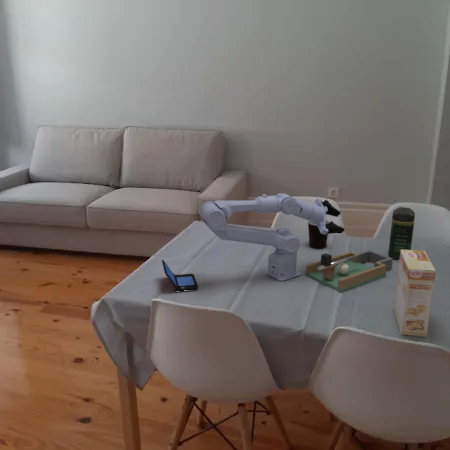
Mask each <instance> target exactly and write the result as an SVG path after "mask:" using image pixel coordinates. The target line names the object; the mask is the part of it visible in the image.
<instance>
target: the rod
mask: <svg viewBox="0 0 450 450" xmlns="http://www.w3.org/2000/svg"><path fill="white" fill-rule="evenodd" d="M357 254H358V253H357ZM332 257H333V256H332V255H331V254H329V253H327V252H326V253H323V254H321V255H320V261H321V265H322V266H319V267H317V270H318V271H319V270H322V269H323V277H324V278H326V279H328V280H331V279H334V270H335V265H338V264H341V263H344V262H347V261H350V260H353V259H357V258H360V257H361V254H358V255H354V256H351V257H348V258H345V259H342V260H338V261H335V262H332V263H331V260H332Z"/></svg>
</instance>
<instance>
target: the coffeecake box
mask: <svg viewBox="0 0 450 450" xmlns="http://www.w3.org/2000/svg"><path fill="white" fill-rule="evenodd" d="M436 273H437V271H436V268H435V267H434V265H433V263H432V261H431V259H430V257H429V256H428V254H427V252H426V251H425V250H417V249H416V250H415V249H411V250H402V249H401V251H400V260H398V270H397V281H396V288H395V294H394V295H395V296H394V297H395V298H394V304H393V313H394V316H395V318H396V322H397V325H398V326H397V327H398V328H399V333H400V335H403V336H404V335H405V336H413V337H423V338H424V337H428V328H429V321H430V314H431V308H432V307H431V306H432V299H433V291H434V285H435V280H436Z"/></svg>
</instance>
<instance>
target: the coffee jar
mask: <svg viewBox="0 0 450 450" xmlns="http://www.w3.org/2000/svg"><path fill="white" fill-rule="evenodd" d="M415 215H416V213H415V211H414V210H413V209H411V208H410V207H403V206H402V207H401V206H400V207H397V208H395V209H393V212H392V217H391V225H390V226H391V227H390V235H389V245H388V252H387V254H388V255H387V256H388V257H390V258H393V260H396V261H399V260H400V251H401V249H402V250H412V242H413V238H414V237H413V236H414V235H413V234H414V229H415V228H414V227H415V217H416V216H415Z"/></svg>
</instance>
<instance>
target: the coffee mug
mask: <svg viewBox="0 0 450 450" xmlns="http://www.w3.org/2000/svg"><path fill="white" fill-rule="evenodd" d="M330 222H331V221H329V220H327V219H326V224H327V223H328V224H329V223H330ZM307 227H308V239H309V240H308V241H309V242H308V243H309V247H310V248H311V249H315V250H323V249H326V248H327V242H328V237H329V234H326V235H323V234H322V233H320V230H319V228H318V227H317V225H316V224H315V222H312V221H309V220H307Z"/></svg>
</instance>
